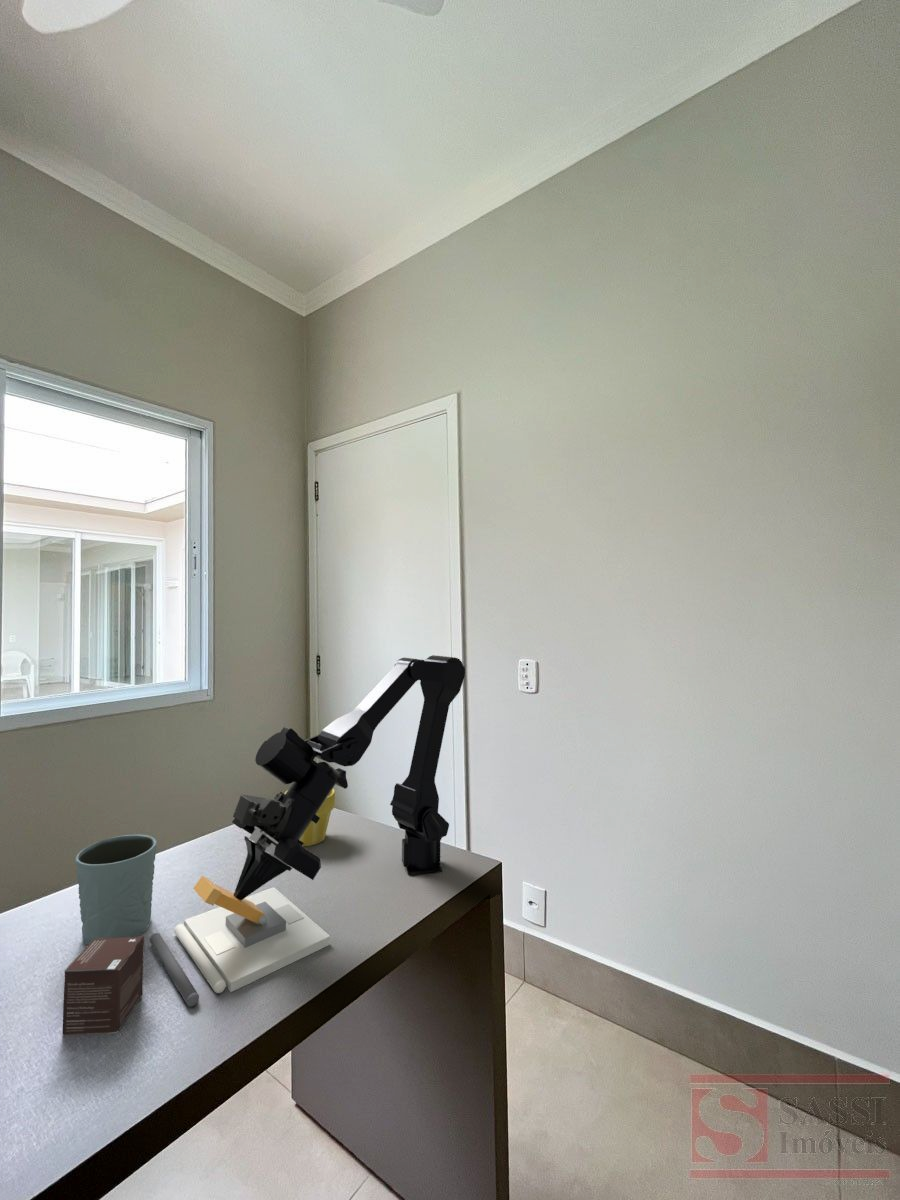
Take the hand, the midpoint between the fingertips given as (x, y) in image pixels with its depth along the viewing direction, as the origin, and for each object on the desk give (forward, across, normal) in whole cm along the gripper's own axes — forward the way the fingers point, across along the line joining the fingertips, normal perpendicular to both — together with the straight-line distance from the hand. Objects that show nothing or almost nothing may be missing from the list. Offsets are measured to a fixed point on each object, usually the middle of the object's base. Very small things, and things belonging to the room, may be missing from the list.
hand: (236, 898), depth 75 cm
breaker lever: (0, 0, +4) cm, 4 cm away
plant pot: (-11, -24, +23) cm, 35 cm away
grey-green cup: (+13, -15, -4) cm, 20 cm away
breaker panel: (+3, 0, +6) cm, 7 cm away
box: (+16, +3, -8) cm, 18 cm away
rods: (+9, 0, -1) cm, 9 cm away
